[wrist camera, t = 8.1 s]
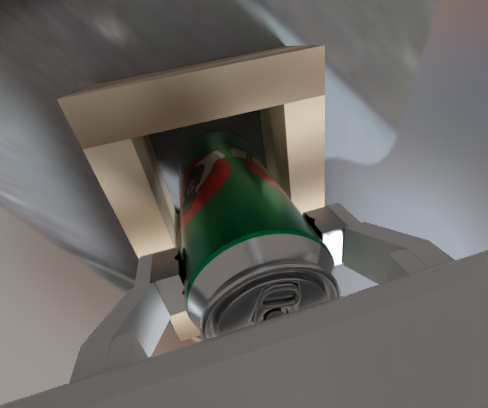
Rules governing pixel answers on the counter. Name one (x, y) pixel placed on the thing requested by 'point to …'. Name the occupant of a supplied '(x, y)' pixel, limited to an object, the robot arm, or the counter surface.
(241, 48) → the counter surface
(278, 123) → the keyhole board
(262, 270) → the soda can
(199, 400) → the robot arm
